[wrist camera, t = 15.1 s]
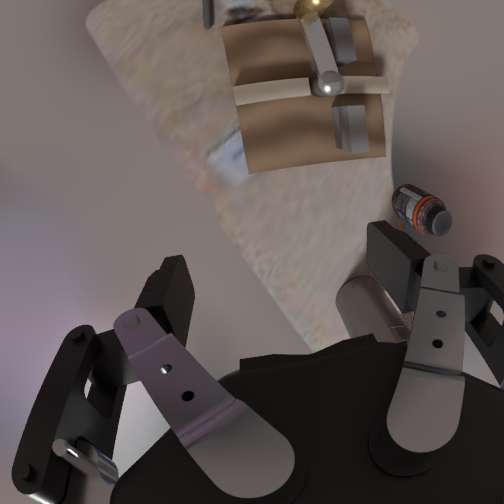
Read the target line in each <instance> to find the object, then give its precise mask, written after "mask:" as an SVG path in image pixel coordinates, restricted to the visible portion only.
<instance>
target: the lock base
mask: <svg viewBox="0 0 504 504" xmlns="http://www.w3.org/2000/svg"><path fill="white" fill-rule="evenodd" d="M320 21H321V23H322V26H323V28H324V31H325V34H326V36H327V39H328V42H329V45H330V48H331V50H332V53H333V56H334V59H335V63H336V66H337V69H338V72H339V74H340V75H341V76H342V77H343V79H344V82H345V87H344V90H343V91H342V92H341V93H340V94H338V95H334V96H327V95H324V94H323V93H321V92H320V91H319V89H318V87H317V83H316V82H317V78H318V77H317V74H316V71H315V68H314V65H313V62H312V59H311V56H310V53H309V50H308V47H307V44H306V41H305V39H304V36H303V33H302V31H301V28H300V25H299V23H298V20H297V19H284V20H270V21H260V22H251V23H244V24H237V25H230V26H224V27H221V31H222V36H223V41H224V46H225V51H226V56H227V61H228V66H229V71H230V76H231V82H232V87H233V92H234V97H235V102H236V108H237V113H238V118H239V124H240V129H241V134H242V140H243V145H244V150H245V156H246V161H247V167H248V172H249V174H252V173H258V172H264V171H270V170H276V169H282V168H289V167H296V166H303V165H310V164H318V163H326V162H335V161H344V160H354V159H364V158H376V157H386V153H385V138H384V127H383V117H382V109H381V101H380V94H386V93H389V88H388V81H387V77H377V74H376V68H375V63H374V58H373V53H372V48H371V43H370V39H369V35H368V30H367V26H366V22H365V21H359V20H348V18H334V17H329V18H328V19H320Z"/></svg>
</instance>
